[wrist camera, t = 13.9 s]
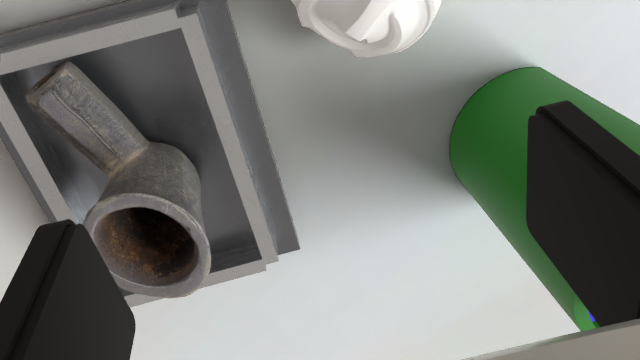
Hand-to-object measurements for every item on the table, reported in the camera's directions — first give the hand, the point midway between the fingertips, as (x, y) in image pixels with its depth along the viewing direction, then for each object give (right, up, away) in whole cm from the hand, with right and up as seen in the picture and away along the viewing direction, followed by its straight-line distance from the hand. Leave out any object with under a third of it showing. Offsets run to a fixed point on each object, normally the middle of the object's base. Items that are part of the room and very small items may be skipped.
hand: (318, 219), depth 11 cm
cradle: (-11, +2, +24) cm, 26 cm away
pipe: (-11, +3, +22) cm, 25 cm away
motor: (+14, +4, +28) cm, 31 cm away
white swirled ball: (+2, +13, +20) cm, 24 cm away
